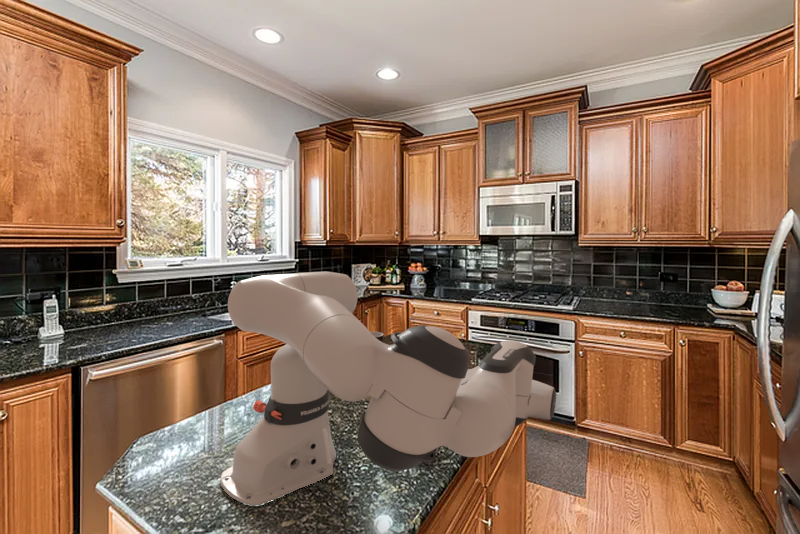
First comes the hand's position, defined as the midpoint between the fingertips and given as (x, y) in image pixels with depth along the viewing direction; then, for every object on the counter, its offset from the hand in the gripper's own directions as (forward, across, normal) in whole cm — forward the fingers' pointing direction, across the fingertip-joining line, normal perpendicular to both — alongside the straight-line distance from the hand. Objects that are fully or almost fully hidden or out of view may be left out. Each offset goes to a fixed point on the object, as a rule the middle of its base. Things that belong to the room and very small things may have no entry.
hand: (447, 376), depth 109 cm
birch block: (+15, -12, -7) cm, 21 cm away
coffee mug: (+41, +11, -7) cm, 43 cm away
